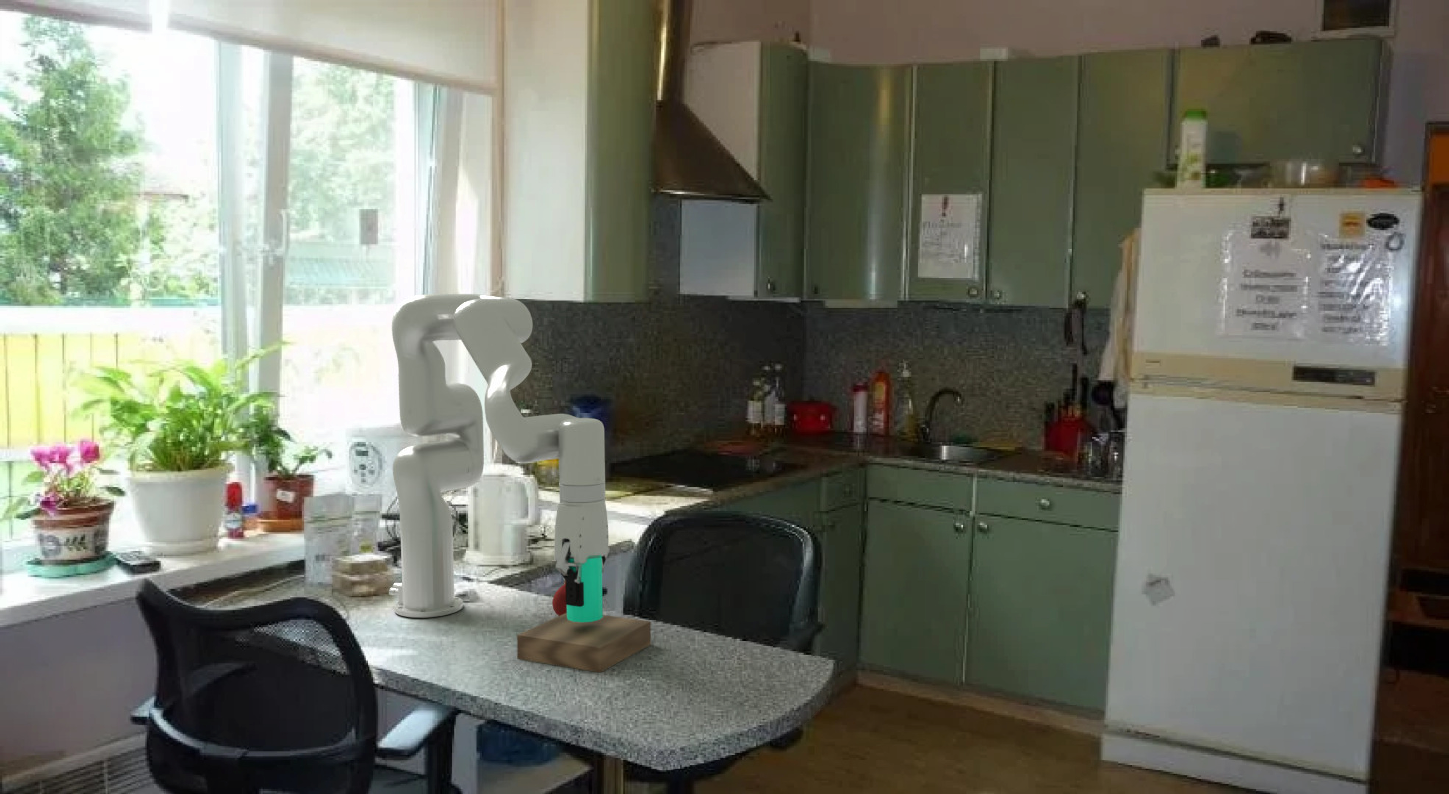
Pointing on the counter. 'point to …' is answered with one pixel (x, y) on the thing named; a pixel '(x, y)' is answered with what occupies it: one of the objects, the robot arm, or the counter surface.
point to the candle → (589, 593)
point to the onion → (560, 601)
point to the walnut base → (584, 642)
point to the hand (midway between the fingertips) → (584, 600)
